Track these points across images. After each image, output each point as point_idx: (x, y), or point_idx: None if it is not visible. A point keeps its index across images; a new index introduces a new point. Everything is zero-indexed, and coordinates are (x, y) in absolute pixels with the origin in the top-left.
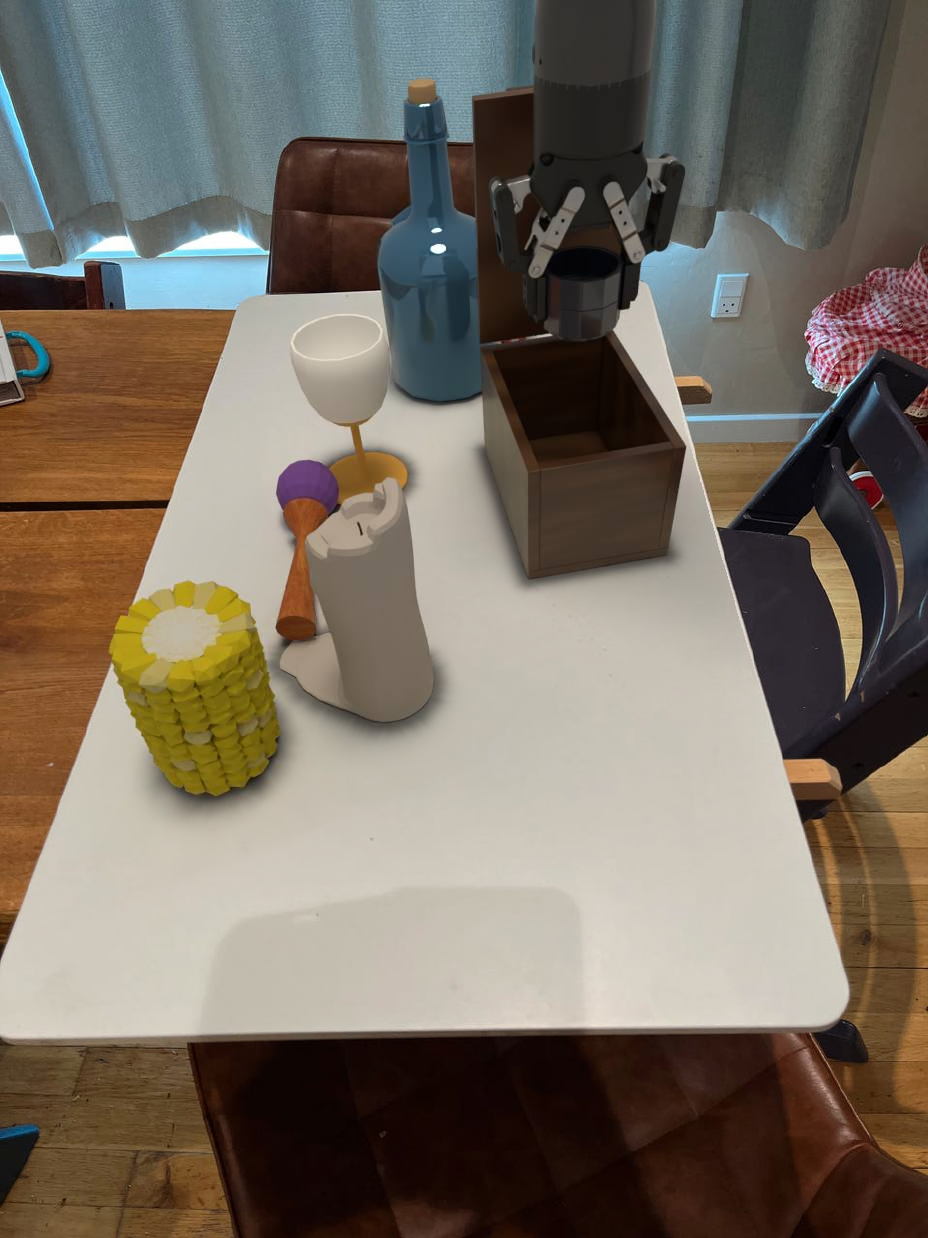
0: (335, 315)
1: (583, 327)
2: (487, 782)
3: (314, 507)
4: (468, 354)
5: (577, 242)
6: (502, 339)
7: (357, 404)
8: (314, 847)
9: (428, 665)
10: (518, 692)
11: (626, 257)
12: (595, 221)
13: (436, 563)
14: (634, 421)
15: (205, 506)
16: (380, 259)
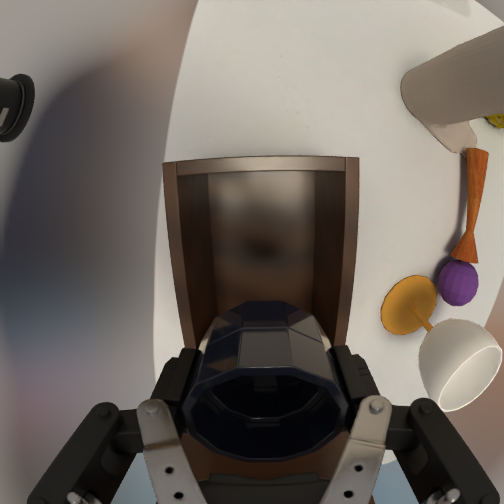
0: (456, 408)
1: (279, 309)
2: (371, 16)
3: (465, 255)
4: None
5: (230, 472)
6: None
7: (457, 323)
8: (448, 27)
9: (414, 74)
10: (347, 60)
11: (174, 415)
12: (245, 490)
13: (386, 198)
14: (197, 271)
15: (487, 294)
16: (378, 473)
